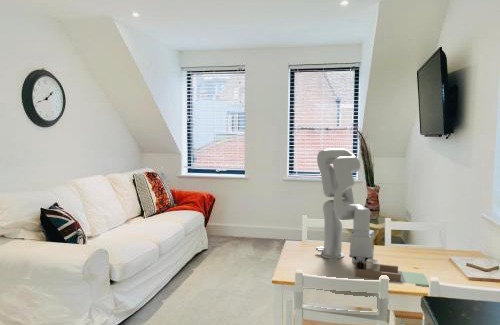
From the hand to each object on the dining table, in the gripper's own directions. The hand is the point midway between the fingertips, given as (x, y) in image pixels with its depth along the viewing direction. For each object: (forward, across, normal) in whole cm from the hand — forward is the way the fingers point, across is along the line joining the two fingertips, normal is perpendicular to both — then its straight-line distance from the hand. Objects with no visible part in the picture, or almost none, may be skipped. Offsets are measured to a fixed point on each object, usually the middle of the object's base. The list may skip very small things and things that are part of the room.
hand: (360, 269), depth 173 cm
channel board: (+2, +14, 0) cm, 14 cm away
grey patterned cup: (+1, +6, 0) cm, 6 cm away
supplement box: (+2, +1, +17) cm, 17 cm away
